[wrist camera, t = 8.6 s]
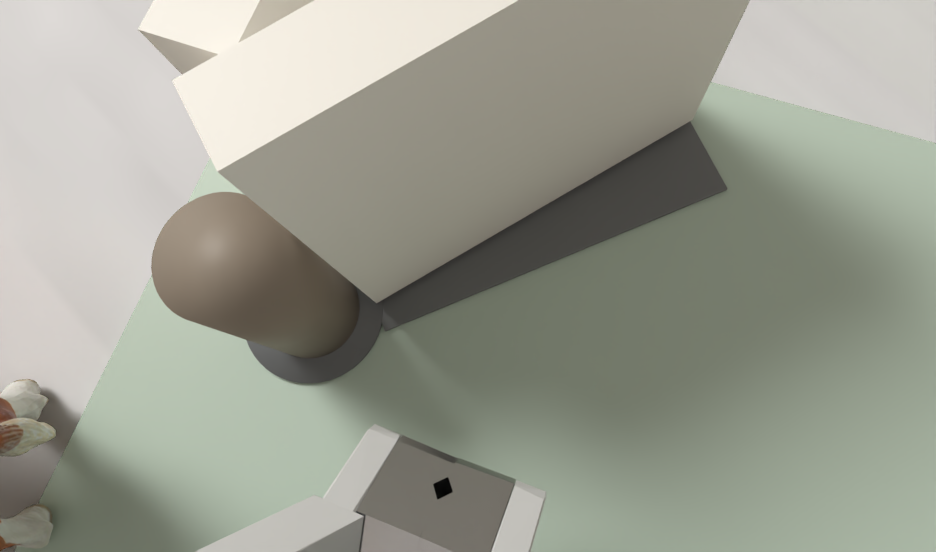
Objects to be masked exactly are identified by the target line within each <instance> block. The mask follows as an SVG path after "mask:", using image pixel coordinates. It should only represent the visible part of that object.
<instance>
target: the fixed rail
mask: <svg viewBox="0 0 936 552" xmlns="http://www.w3.org/2000/svg"><path fill="white" fill-rule="evenodd" d="M312 1H314V0H154V1H153V3H152V5H151V6H150V8H149V10H148V12H147V14H146V16H145V17H144V19H143V21H142V23H141V25H140V27H139V28H138V30H139V31H140V32H141V33H142V34H143V35H144V36H145V37H146V38H147V39H148V40H149V41H150V42H151V43H152V44H153V45H154V46H155V47H156V48H157V49H158V50H159V51H160V52H161V53H162V54H163V55H164V56H165V57H166V59H167V60H168V61H169V62H170V63H171V64H172V65H173V66H174V67H175V68H176V69H177V70H178V71H179V72H180V73H181V74H184V73H186V72H188V71H189V70H191V69H193V68H195V67H197V66H198V65H200V64H202V63H204V62H205V61H207V60H209V59H211V58H213V57H214V56H216V55H218V54H220V53H221V52H223V51H225V50H227V49H229V48H230V47H232V46H234V45H236V44H237V43H239V42H241V41H243V40H245V39H246V38H248V37H250V36H252V35H253V34H255V33H257V32H259V31H261V30H262V29H264V28H266V27H268V26H269V25H271V24H273V23H275V22H277V21H278V20H280V19H282V18H284V17H285V16H287V15H289V14H291V13H293V12H294V11H296V10H298V9H300V8H301V7H303V6H305V5H307V4H309V3H310V2H312ZM151 269H152V278H153V282H154V286H155V288H156V291H157V293H158V295H159V297H160V298H161V300H162V301H163V302H164V304H165V305H166V306H167V307H168V308H169V309H170V310H171V311H172V312H174V313H175V314H177V315H178V316H180V317H182V318H184V319H186V320H189V321H192V322H195V323H198V324H201V325H204V326H206V327H209V328H212V329H215V330H218V331H221V332H224V333H227V334H230V335H233V336H236V337H239V338H242V339H245V340H248V341H251V342H254V343H257V344H260V345H263V346H266V347H269V348H272V349H275V350H278V351H281V352H284V353H287V354H290V355H293V356H296V357H300V358H318V357H322V356H325V355H328V354H330V353H332V352H334V351H335V350H337V349H338V348H339V347H341V346H342V345H343V344H344V343H345V342H346V341H347V340H348V338H349V337H350V336H351V334H352V333H353V331H354V329H355V327H356V324H357V321H358V317H359V309H360V307H359V297H358V294H357V291H356V288H355V286H354V284H353V283H351V282H350V281H349V280H348V279H346V278H345V277H344V276H343V275H342V274H340V273H339V272H338V271H337V270H336V269H334V268H333V267H332V266H331V265H330V264H328V263H327V262H326V261H325V260H323V259H322V258H321V257H320V256H319V255H317V254H316V253H315V252H314V251H313V250H311V249H310V248H309V247H308V246H307V245H305V244H304V243H303V242H302V241H300V240H299V239H298V238H297V237H296V236H294V235H293V234H292V233H291V232H290V231H288V230H287V229H286V228H285V227H284V226H282V225H281V224H280V223H279V222H277V221H276V220H275V219H274V218H273V217H271V216H270V215H269V214H268V213H267V212H265V211H264V210H263V209H262V208H261V207H259V206H258V205H257V204H256V203H254V202H253V201H252V200H251V199H250V198H248V197H247V196H246V195H244V194H240V193H235V192H216V193H211V194H207V195H204V196H201V197H199V198H196V199H194V200H192V201H191V202H189V203H187V204H186V205H184V206H183V207H181V208H180V209H179V210H178V211H177V212H176V213H175V214H174V215H173V216H172V217H171V218H170V219H169V220H168V222H167V223H166V224H165V226H164V227H163V229H162V231H161V232H160V234H159V236H158V238H157V241H156V243H155V247H154V250H153V255H152V267H151Z"/></svg>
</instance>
